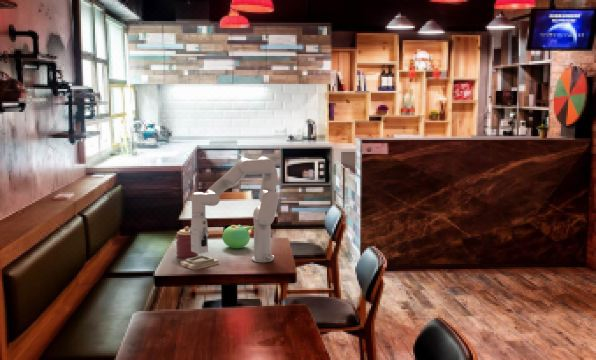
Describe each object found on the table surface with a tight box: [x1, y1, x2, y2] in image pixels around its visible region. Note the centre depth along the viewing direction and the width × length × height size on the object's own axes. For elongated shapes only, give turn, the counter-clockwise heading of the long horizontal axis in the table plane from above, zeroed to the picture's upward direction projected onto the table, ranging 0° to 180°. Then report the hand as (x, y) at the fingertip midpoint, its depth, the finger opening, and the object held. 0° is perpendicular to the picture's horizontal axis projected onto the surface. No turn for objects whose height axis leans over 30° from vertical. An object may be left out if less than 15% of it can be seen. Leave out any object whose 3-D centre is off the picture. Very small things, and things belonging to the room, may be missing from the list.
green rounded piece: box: [221, 224, 254, 249], centre depth 398 cm, size 18×17×15 cm
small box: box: [191, 229, 209, 255], centre depth 361 cm, size 8×6×13 cm
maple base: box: [180, 254, 220, 271], centre depth 362 cm, size 13×17×3 cm
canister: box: [175, 226, 199, 259], centre depth 379 cm, size 13×13×18 cm
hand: (199, 244), depth 361 cm, fingers closed on small box, 8 cm apart
